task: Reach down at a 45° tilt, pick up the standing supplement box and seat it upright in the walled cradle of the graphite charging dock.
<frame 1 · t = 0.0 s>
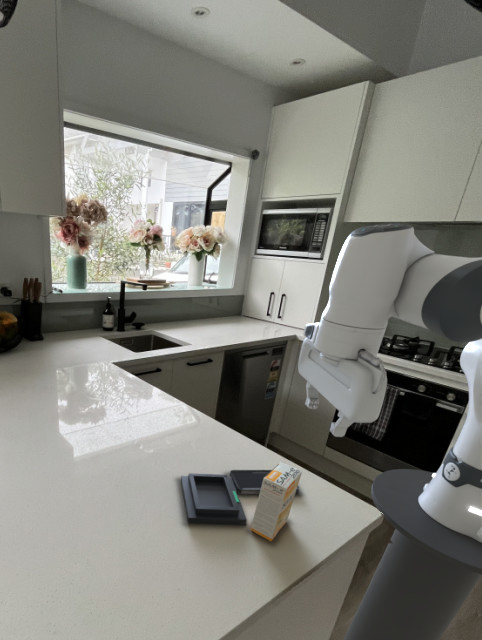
hand: (322, 420, 63), 27 cm above the counter, tool pointing down, fingers open, 8 cm apart
phone: (262, 483, 91), on the counter
charging dock: (210, 501, 83), on the counter
supplement box: (269, 526, 78), on the counter
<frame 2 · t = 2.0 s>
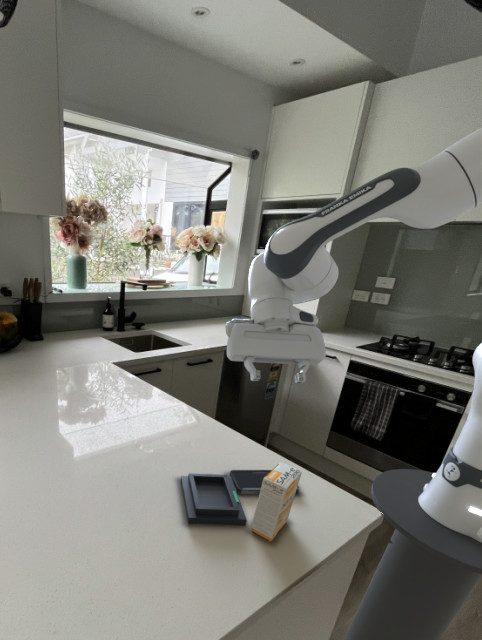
hand: (278, 381, 77), 27 cm above the counter, tool tilted 45°, fingers open, 8 cm apart
nothing on the counter moved.
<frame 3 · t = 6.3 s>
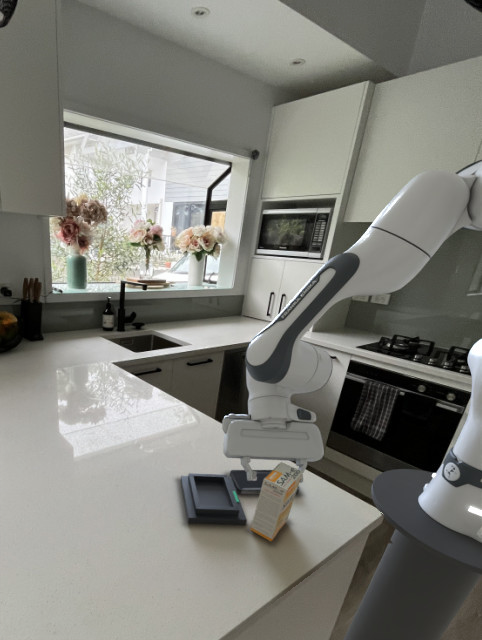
hand: (275, 481, 76), 10 cm above the counter, tool tilted 45°, fingers open, 8 cm apart
supplement box: (269, 526, 78), on the counter, touching gripper
everything else where it was.
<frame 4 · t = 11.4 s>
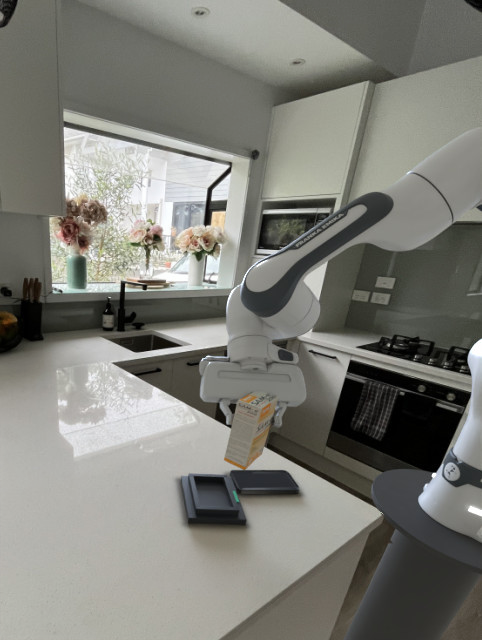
hand: (254, 425, 71), 22 cm above the counter, tool tilted 45°, fingers closed on supplement box, 7 cm apart
supplement box: (243, 458, 74), point 14 cm above the counter, touching gripper
everything else where it was.
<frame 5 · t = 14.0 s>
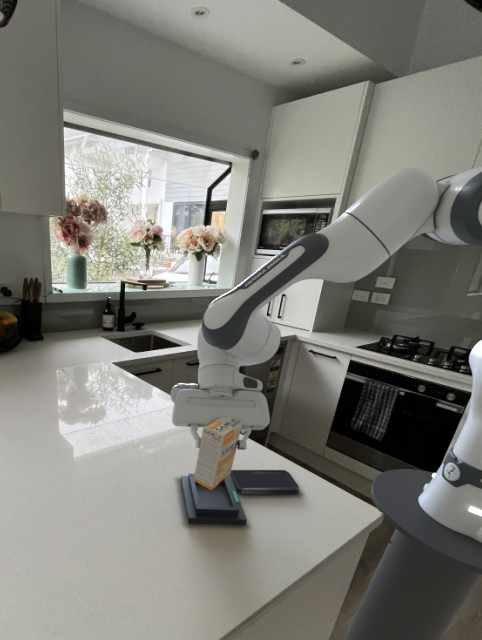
hand: (221, 448, 77), 14 cm above the counter, tool tilted 45°, fingers closed on supplement box, 7 cm apart
supplement box: (212, 478, 80), point 7 cm above the counter, touching gripper
everything else where it was.
when the fingers open (10 cm above the counter, at t = 15.8 s): supplement box stays where it is, resting on charging dock.
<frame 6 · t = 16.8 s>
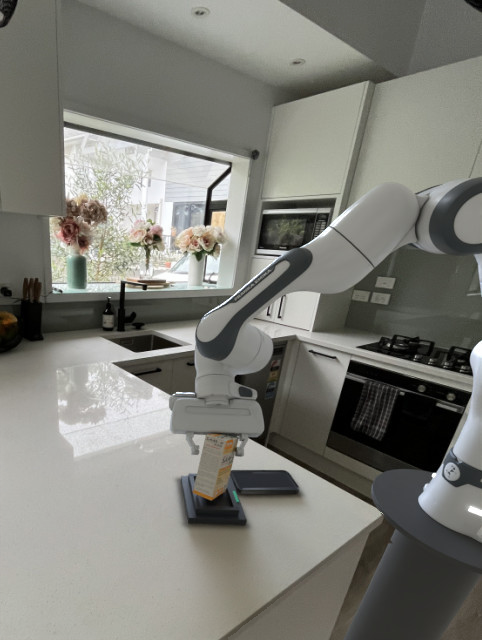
hand: (217, 455, 80), 11 cm above the counter, tool tilted 45°, fingers open, 8 cm apart
supplement box: (209, 493, 82), point 3 cm above the counter, touching charging dock
everything else where it was.
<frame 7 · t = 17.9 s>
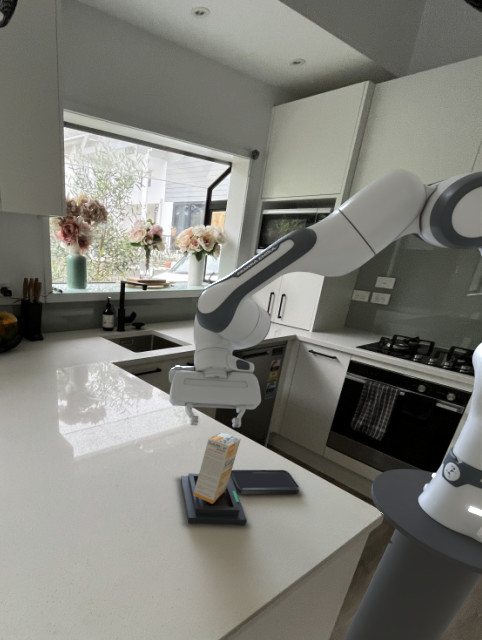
hand: (215, 425, 82), 16 cm above the counter, tool tilted 45°, fingers open, 8 cm apart
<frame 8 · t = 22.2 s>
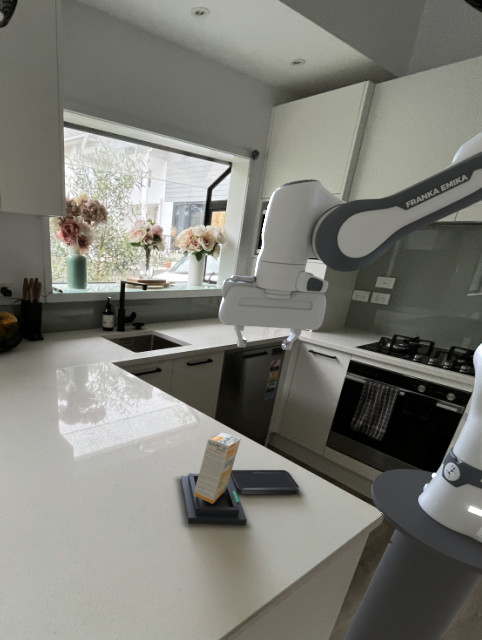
hand: (263, 347, 78), 33 cm above the counter, tool pointing down, fingers open, 8 cm apart
nothing on the counter moved.
at the end: supplement box 0.9 cm off-centre on the charging dock, point 2.4 cm above the charging dock's base; supplement box tilted 13°; the gripper is holding nothing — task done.
